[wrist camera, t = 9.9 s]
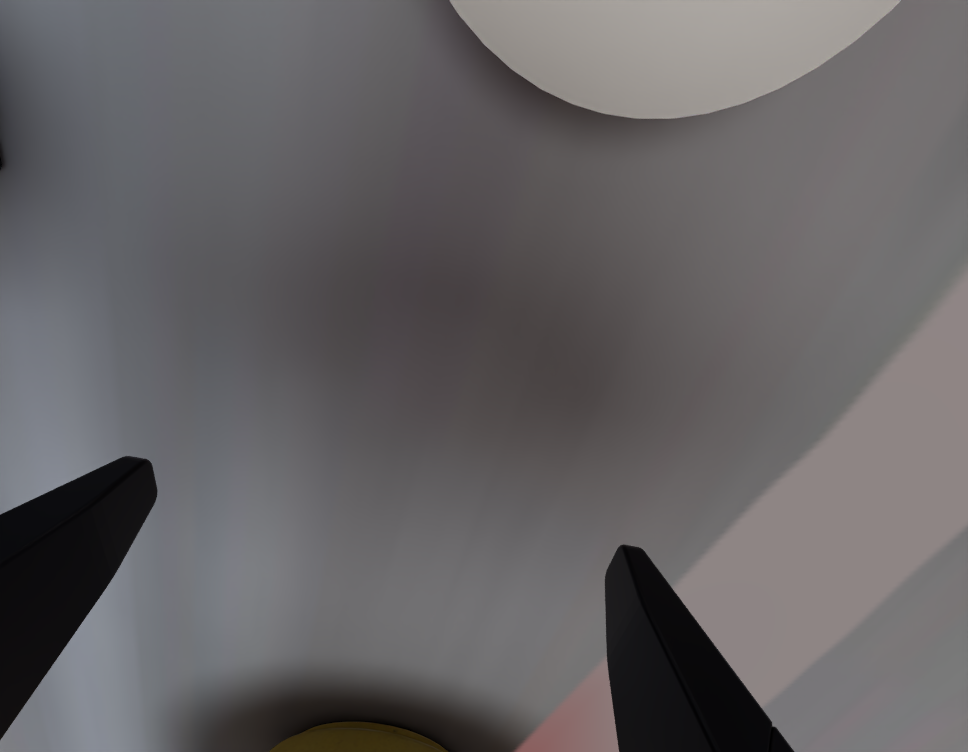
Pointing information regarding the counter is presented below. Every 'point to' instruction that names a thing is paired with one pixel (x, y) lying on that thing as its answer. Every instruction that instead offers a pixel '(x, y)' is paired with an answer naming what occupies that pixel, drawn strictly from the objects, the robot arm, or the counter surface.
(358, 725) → the planter bowl
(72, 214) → the counter surface
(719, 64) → the lid
